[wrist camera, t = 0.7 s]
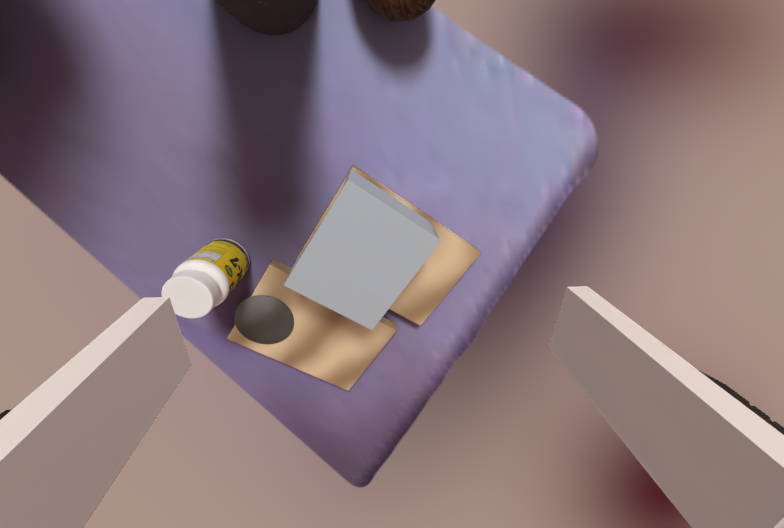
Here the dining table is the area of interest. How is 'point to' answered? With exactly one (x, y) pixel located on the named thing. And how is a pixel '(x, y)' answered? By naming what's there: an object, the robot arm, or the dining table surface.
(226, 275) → the supplement bottle
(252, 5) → the container
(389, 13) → the mushroom
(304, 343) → the board
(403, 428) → the dining table surface
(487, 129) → the dining table surface
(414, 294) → the pattern board
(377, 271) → the cover
